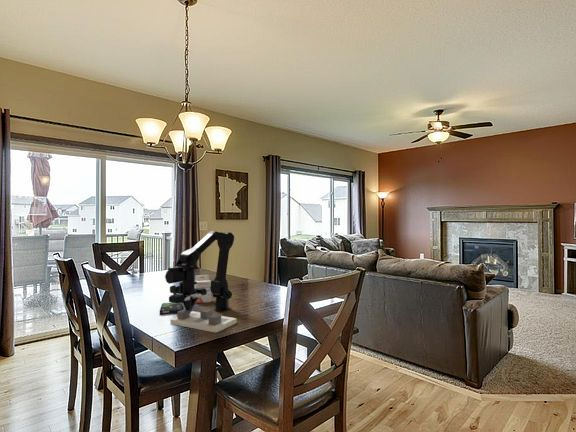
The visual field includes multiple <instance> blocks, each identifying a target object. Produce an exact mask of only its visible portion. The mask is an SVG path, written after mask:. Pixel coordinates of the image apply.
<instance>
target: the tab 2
mask: <svg viewBox="0 0 576 432" xmlns="http://www.w3.org/2000/svg"><path fill="white" fill-rule="evenodd" d="M221 316H222V315H221V314H220V315H219V314H213V315H212V316H210V317H209V324H211V325H217V324H219V323H221Z"/></svg>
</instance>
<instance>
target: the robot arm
mask: <svg viewBox="0 0 576 432" xmlns="http://www.w3.org/2000/svg"><path fill="white" fill-rule="evenodd" d="M215 241H217V243H216V244H217V246H218V257H217V265H216V274H215V278H214V279H212V280H210V281H211V286H210V289H211V295H212V296H213V298H216V299H215V308H213V311H216V312H217V311H218V312H227V311H229V310H231V309H232V307H229V303H230V302H229V300H230V299H231V298H232V296H233V293H232V292H231V291H230V290H229V284H228V280H227V278H226V277H227V270H228V262H229V255H230V250H231V248H232V247H233V245H234V241H235V235H234V233H232V232H229V231H226V232H225V231H224V232H222V231H221V232H219V231H217V230H215V231H214V230H212V231H211V230H210V231H208V232H207V234H206V235H205V236H204V237H203V238H201V240H199V241H198V242H197V243H196V244H195V245H194V246H193V247H191V248H189V249H186V250H185V251H182V252H181V253H180V254H179V258H178V260H177V261H176V263H175V265H174V267H168V269H167V270H166V273H165V275H164V278H165V281H166V283H168V284H175V283H179V285H177V286H176V285H170V286H169V292H170V294H171V295H169V296H168V303H181V302H182V305H183V306H184V308H185V309H184V310H190V313H191V312H192V311H193V309H194V307H195V305H196V303H195V302H196V301H197V299H198V297H196V295H197V294H201V295H206V294H207V290H206V289H205V288H195V284H197V282H196V281H195V275H196V274H195V270H198V269H199V266H197V265H196V263H197V262H198V261H199V259H200V257H201V255H202V253H203V252H205V250H207V249H208V248H209V247H210V246H211V245H212V244H213V243H214V242H215Z"/></svg>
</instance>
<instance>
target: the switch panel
mask: <svg viewBox="0 0 576 432" xmlns="http://www.w3.org/2000/svg"><path fill="white" fill-rule="evenodd" d="M212 315H214V314H213V313H212ZM237 320H238V319H237V317H236V318H235V317H230V316H224V315H221V323H219V324H217V325H211V324H209V318H208V319H204V318H201V316H200V312H199V311H194V310H192V311H191V313H190V317H188V318H186V319H178V318H177V316H176V317H173V318H170V321H169V322H170V325H176V326H180V327H186V328H191V329H196V330H200V331H206V332H211V333H218V332H220V331H223V330H225V329H227V328H229V327H231V326H233V325H235V324H237V323H238V322H237Z"/></svg>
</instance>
